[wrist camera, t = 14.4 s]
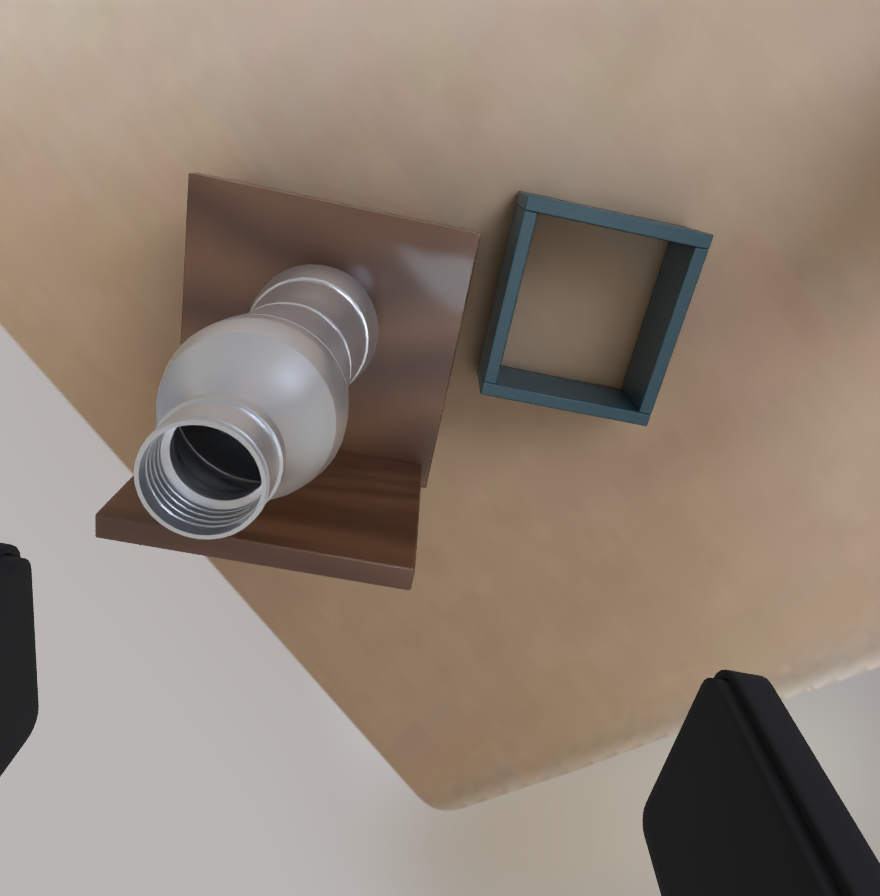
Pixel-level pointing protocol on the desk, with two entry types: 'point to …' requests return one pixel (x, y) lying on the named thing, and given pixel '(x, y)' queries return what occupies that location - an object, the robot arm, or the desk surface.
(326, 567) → the chair
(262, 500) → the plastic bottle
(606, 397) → the rectangular frame
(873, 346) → the desk surface
